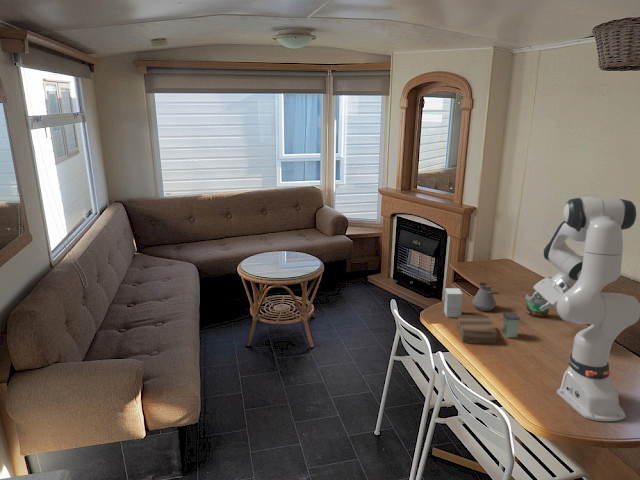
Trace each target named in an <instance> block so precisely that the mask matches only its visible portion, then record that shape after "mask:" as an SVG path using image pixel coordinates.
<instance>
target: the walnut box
mask: <svg viewBox="0 0 640 480" xmlns="http://www.w3.org/2000/svg"><path fill="white" fill-rule="evenodd" d="M456 329H457V332H458V334H459V336H460V340H461V342H462V343H463V344H485V345H486V344H489V345H490V344H491V345H496V344H497V334H498V332H497V330H496V327H495V326H494V324H493V322H492V319H490V317H489V315H470V314H469V315H468V314H467V315H466V314H461V315H457V317H456Z"/></svg>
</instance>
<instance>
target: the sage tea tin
mask: <svg viewBox="0 0 640 480" xmlns="http://www.w3.org/2000/svg"><path fill="white" fill-rule="evenodd" d="M502 315H503V319H502V328H501V333H502V335H503V336H504V337H505V339H517V338H518V334H519V324H520V319H521V317H520V316H519V315H518V314H517V313H516V312H503V314H502Z"/></svg>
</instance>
